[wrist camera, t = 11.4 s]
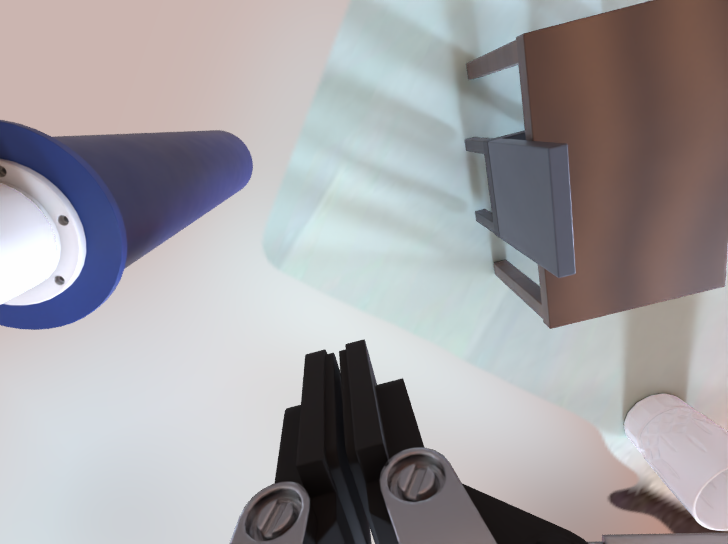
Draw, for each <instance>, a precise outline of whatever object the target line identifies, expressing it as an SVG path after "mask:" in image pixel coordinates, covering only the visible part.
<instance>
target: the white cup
mask: <svg viewBox="0 0 728 544" xmlns="http://www.w3.org/2000/svg"><path fill="white" fill-rule="evenodd" d="M624 428H625V434H626V436H627V437H628V438H629V440H630V441H631V442H632V443H633V444H634V445H635V446H636V448H637V449H638V450H639V451H640V452H641V453H642V455H643V457H644V459H645V460H646V461H647V462H648V464H649V465H650V466H651V467H652V469H653V470H654V471H655V472H656V473H657V475H658V476H659V477H660V478H661V480H662V481H663V482H664V483H665V484H666V486H667V487H668V488H669V489H670V490H671V491H672V493H673V494H674V495H675V496H676V497H677V498H678V500H679V501H680V502H681V503H682V504H683V506H684V507H685V508H686V509H687V510H688V511H689V513H690V514H691V515H692V516H693V517H694V519H695V520H696V521H697V522H698V523H699V524H700V525H702V526H703V527H705V528H708V529H711V530H719V531H724V530H728V431H726V430H725V429H724V428H722V427H721V426H719V425H717V424H716V423H715V422H713V421H712V420H711V419H709V418H708V417H706V416H705V415H703V414H701V413H699V412H698V411H696V410H695V409H693V408H692V407H691V406H689V405H688V404H686V403H685V402H684V401H682V400H681V399H680V398H678V397H677V396H673V395H669V394H666V393H662V394H656V395H650V396H648V397H647V398H645V399H643V400H641V401H639V402H637V403H636V404H635V406H634V407H633V408H632V409H631V410H630V411H629V412H628V414H627V416H626V419H625V422H624Z"/></svg>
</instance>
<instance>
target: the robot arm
mask: <svg viewBox="0 0 728 544" xmlns="http://www.w3.org/2000/svg"><path fill="white" fill-rule="evenodd" d="M67 218H68V219H67ZM85 257H86V238H85V233H84V229H83V225H82V223H81V221H80V218H79V216H78V214H77V212H76V210H75V209H74V207H73V206H72V204H71V203H70V201H69V200H68V198H67V197H66V196H65V195H64V194H63V193H62V192H61V191H60V190H59V189H58V188H57V187H56V186H55V185H54V184H53V183H51V182H50V181H49V180H48V179H46V178H45V177H44V176H42V175H41V174H39V173H37V172H35V171H34V170H32V169H30V168H28V167H26V166H23V165H21V164H18V163H16V162H13V161H9V160H4V159H0V305H1V304H7V305H30V304H37V303H41V302H43V301H46V300H49V299H51V298H53V297H55V296H57V295H58V294H60V293H62V292H63V291H64V290H66V289H67V288H68V287H69V286H71V285H72V284H73V282H74V281H75V280H76V279H77V277H78V276H79V274H80V272H81V270H82V268H83V266H84V262H85ZM339 356H340V370H339V367H338V364H337V360H336V357H335V354H334V353H331V354H327V352H326V350H321V351H318V352H314V353H310V354H306V356H305V366H304V377H303V388H302V401H301V405H298V406H294V407H290V408H287V409H286V410H285V414H284V421H283V428H282V435H281V442H280V450H279V456H278V463H277V470H276V477H275V484H272V485H270V486H268V487H266V488H264V489H262V490H261V491H260V492H258V493H257V494H256V495H255V496H254V497H252V498H251V500H250V501H249V502H248V503H247V504H246V506H245V507H244V509H243V511H242V513H241V515H240V517H239V519H238V522H237V525H236V527H235V530H234V533H233V536H232V538H231V541H230V544H371V534H370V529H371V532H372V535H373V539H374V542H375V544H728V534H725V533H680V534H627V535H626V534H624V535H602V542H586V541H585V540H584V539H582V538H581V537H579V536H577V535H576V534H574V533H572V532H571V531H568V530H566V529H564V528H562V527H559V526H557V525H555V524H553V523H550V522H548V521H546V520H543V519H541V518H539V517H536V516H534V515H532V514H530V513H527V512H525V511H523V510H521V509H519V508H516V507H514V506H512V505H509V504H507V503H505V502H503V501H500V500H498V499H496V498H493V497H491V496H489V495H487V494H485V493H482V492H480V491H478V490H476V489H473V488H471V487H469V486H466V485H464V484H462V483H461V481H460V480H459V478H458V476H457V474H456V473H455V471H454V469H453V468H452V466H451V464H450V463H449V461H448V460H447V459H446V458H445V457H444V456H443V455H442V454H440V453H439V452H437V451H435V450H432V449H428V448H424V445H423V442H422V438H421V435H420V432H419V429H418V426H417V422H416V419H415V416H414V412H413V409H412V406H411V403H410V400H409V396H408V393H407V390H406V387H405V383H404V380H403V379H398V380H395V381H391V382H387V383H383V384H379V385H377V383H376V379H375V375H374V372H373V368H372V364H371V361H370V357H369V354H368V350H367V347H366V343H365V340H360V341H356V342H352V343H348V344H346V350H342V351H339Z"/></svg>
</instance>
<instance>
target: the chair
mask: <svg viewBox="0 0 728 544" xmlns="http://www.w3.org/2000/svg"><path fill="white" fill-rule="evenodd" d="M465 147H466V151H470V152H476V153H481V154H484V155H485V162H486V170H487V178H488V185H489V193H490V200H491V208H492V213H491V212H490V211H488V210H486V209H482V210H478V211H475V215H476V221H477V222H479V223H480V224H481V225H483V226H484V227H486V228H487V229H489V230H490V231H492V232H493V233H495V235H496V236H498V237H499V238H501V239H502V240H504V241H505V242H507V243H508V244H510V245H511V246H513V247H514V248H515V249H517V250H518V251H520V252H521V253H523V254H524V255H526V256H527V257H529V258H530V259H532V260H533V261H534V262H536V263H537V264H539V265H540V266H542V267H543V268H545V269H546V270H548V271H549V272H551V273H552V274H553V275H555V276H556V277H558V278H561V277H565V276H569V275H573V274H575V273H576V269H575V253H574V237H573V222H572V206H571V190H570V174H569V158H568V145H567V144H566V143H554V142H541V141H528V140H526V135H525V131H521V132H517V133H513V134H509V135H505V136H501V137H497V138H480V137H473V138H469V139H465Z"/></svg>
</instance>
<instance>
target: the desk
mask: <svg viewBox="0 0 728 544" xmlns="http://www.w3.org/2000/svg"><path fill="white" fill-rule="evenodd" d="M516 65H519V73H520V84H521V94H522V104H523V115H524V125H525V135H526V140H528V141H541V142H554V143H566V144H567V145H568V158H569V174H570V190H571V206H572V222H573V237H574V253H575V269H576V273H575V274H573V275H569V276H565V277H561V278H558V277H556V276H555V275H553V274H552V273H551V272H549V271H548V270H546V269H545V268H543V267H542V266H540V265H539V264H538V270H539V281H540V286H539V285H537V284H536V283H535V282H533V281H532V280H531V279H530V278H528V277H527V276H526V275H525V274H523V273H522V272H521V271H520V270H518V269H517V268H516V267H514V266H513V265H512V264H511V263H509V262H508V261H507V260H503V261H499V262H495V263H494V271H495V275H496V276H497V277H498V278H500V279H501V280H502V281H503V282H504V283H505V284H506V285H507V286H508V287H509V288H510V289H511V290H512V291H513V292H515V293H516V294H517V295H518V296H519V297H520V298H521V299H522V300H523V301H524V302H525V303H526V304H527V305H529V306H530V307H531V308H532V309H533V310H534V311H535V312H536V313H537V314H538V315H539V316H540V317H541V318H542V319H543V322H544V323H545V324H546V325H547V326H548V327H549V328H550V329H552V328H556V327H560V326H564V325H568V324H572V323H576V322H580V321H585V320H589V319H593V318H597V317H601V316H605V315H609V314H613V313H617V312H622V311H626V310H630V309H634V308H638V307H642V306H646V305H650V304H654V303H658V302H663V301H667V300H671V299H675V298H679V297H683V296H687V295H691V294H695V293H700V292H704V291H708V290H712V289H716V288H720V287H724V286H725V281H726V268H727V254H728V0H652V1H648V2H644V3H640V4H636V5H633V6H629V7H625V8H621V9H617V10H613V11H609V12H605V13H601V14H598V15H594V16H590V17H586V18H582V19H578V20H574V21H570V22H567V23H563V24H559V25H555V26H551V27H547V28H543V29H539V30H536V31H532V32H528V33H524V34H522V35H520V36H518V37H516V40H515V41H513V42H511V43H508V44H506V45H504V46H502V47H500V48H498V49H496V50H494V51H492V52H489V53H487V54H485V55H483V56H481V57H479V58H477V59H475V60H473V61H471V62H468V63H467V64H466V66H467V73H468V79H469V80H471V79H475V78H479V77H483V76H486V75H489V74H492V73H495V72H498V71H501V70H504V69H507V68H510V67H513V66H516Z"/></svg>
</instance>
